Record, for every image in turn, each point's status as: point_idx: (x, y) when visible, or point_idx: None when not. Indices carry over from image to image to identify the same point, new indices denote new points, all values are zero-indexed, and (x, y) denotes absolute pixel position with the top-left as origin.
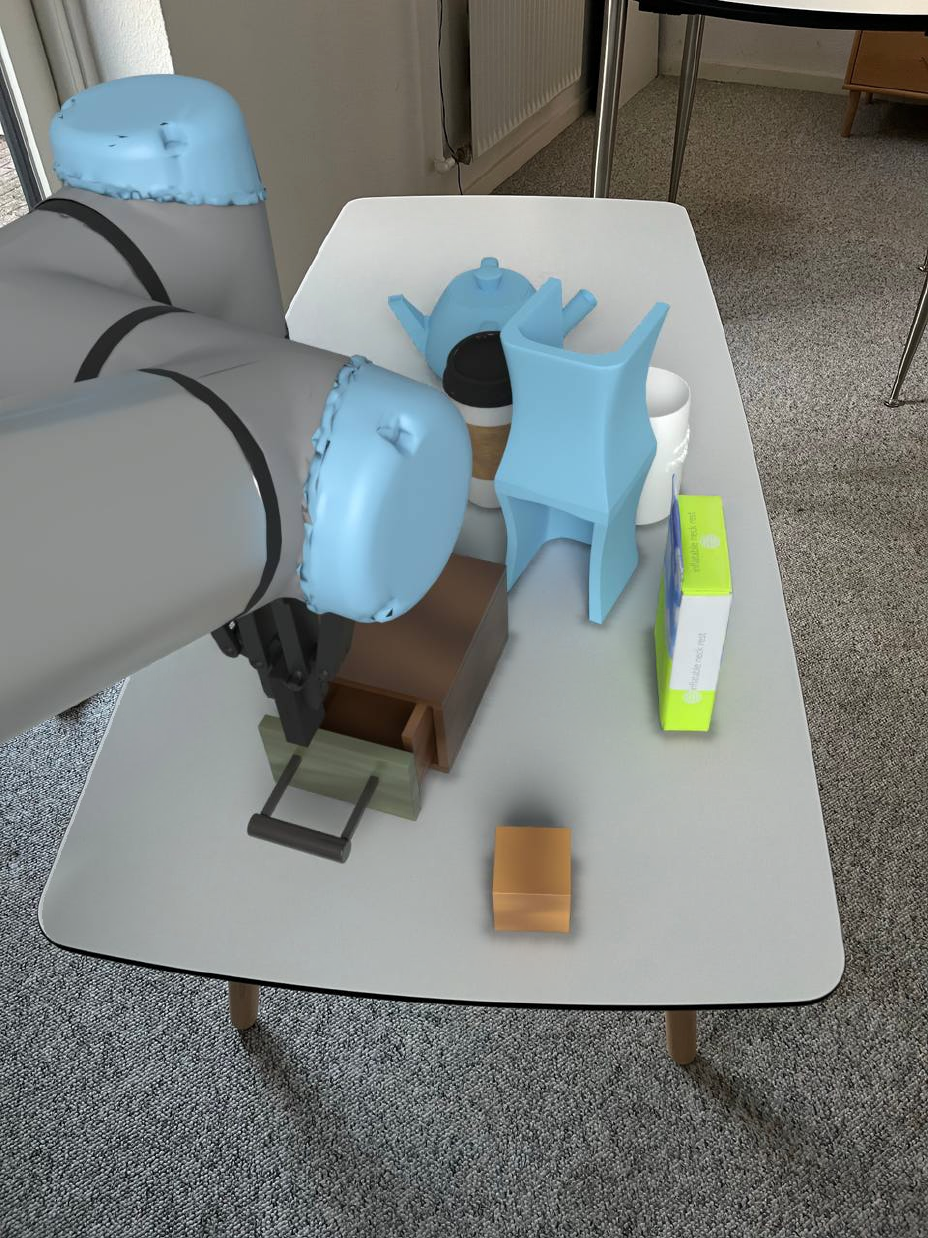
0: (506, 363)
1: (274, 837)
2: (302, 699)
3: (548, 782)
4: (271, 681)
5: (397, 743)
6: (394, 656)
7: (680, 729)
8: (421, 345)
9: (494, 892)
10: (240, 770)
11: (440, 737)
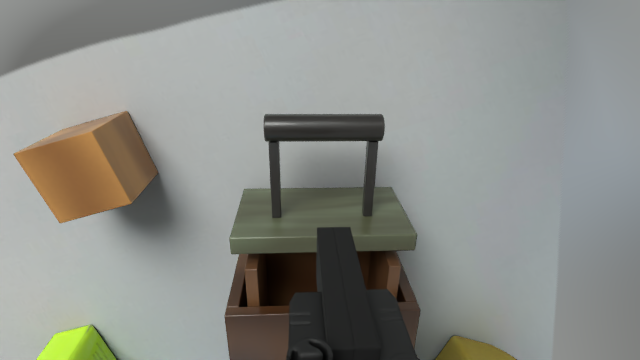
0: None
1: (348, 118)
2: (321, 305)
3: (156, 257)
4: (372, 335)
5: (290, 254)
6: None
7: (74, 329)
8: None
9: (89, 132)
10: (429, 189)
11: (240, 273)
